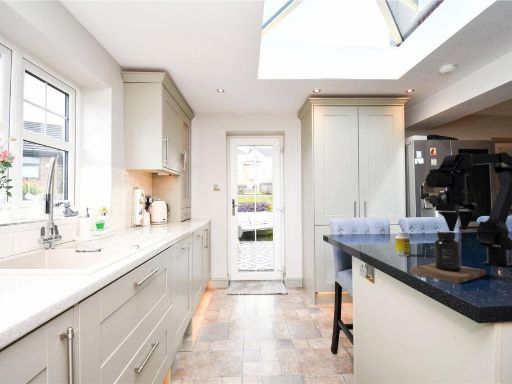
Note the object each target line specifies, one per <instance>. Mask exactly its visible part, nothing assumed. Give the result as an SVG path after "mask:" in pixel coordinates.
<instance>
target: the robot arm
mask: <svg viewBox="0 0 512 384" xmlns="http://www.w3.org/2000/svg"><path fill="white" fill-rule="evenodd" d="M488 164H489V165H491V166H492V171H493V172H494V173H496V174H497V181H498V183H499V188H498V191H497V194H496V197H495V199H494V201H493V204H492V208H491V211H490V213H489V217H488V219H487V220H486V221H479V223H478V227H477V229H476V238H477V239H478V243H479V246H480V247H484V248H486V261H484V262H483V263H482V264H484V265H490V266H497V267H502V268H507V267H510V266H512V263H511V262H510V263H509V262H508V261H509V256H508V251H512V239H511V238H510V236H509V227H508V226H507V220H508V217H509V215H510V211H511V210H512V209H511V208H512V156H511V154H509V153H508V152H505V151H501V152H494V153H485V154H481V153H480V154H471V153H468V152H459V153H454V154H449V155H446V156H444V158H443V160H442V163H441V164H440V165H439V167H438V168H433V169H429V173H428V174H427V175H426V178H425V184H426V186H427V187H428V188H431V189H443V188H445V189H446V190H445V191H443V195H438V196H437V194H431V195H430V196H429V199H428V203H429V205H431V207H432V208H434V210H435V211H436V212H437V213H438V214H440V215H441V216H442V217H443V218H444V220H445V223H446V226H447V228H448V230H449V231H448V232H454V231H455V227H456V225H457V222H458V219H459V222H460V226H461V230H462V231H466V230H467V228H468V227H469V225H470V223H471V222H472V219H473V217H474V216H475V214H476V213H477V211H479V205H478V204H477V203H476V202H469V201H467V194H469V193H470V192H469V190H468V189H467V176H471V175H472V173H471V172H470V171H468V170H467V168H470V167H473V166H478V165H479V166H480V165H488ZM502 164H505V165H502Z"/></svg>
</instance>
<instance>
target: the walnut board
mask: <svg viewBox="0 0 512 384" xmlns="http://www.w3.org/2000/svg"><path fill="white" fill-rule="evenodd" d="M409 274H413V275H419V276H422V277H426V276H427V278H430V279H431V278H432V279H435V280H440V281H445V282H450V283H453V284H458V285H459V284H461V283H462V284H463V283H465V282H468V281H472V280H474V279H478V278H480V277H484V276H487V271H486V269H480V268H474V267H469V266H464V265H463V266H462V265H461V269H460V270H459V271H445V270H440V269H437V268H436V267H435V262H433V263H427V264H424V265H418V266H414V267H409Z"/></svg>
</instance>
